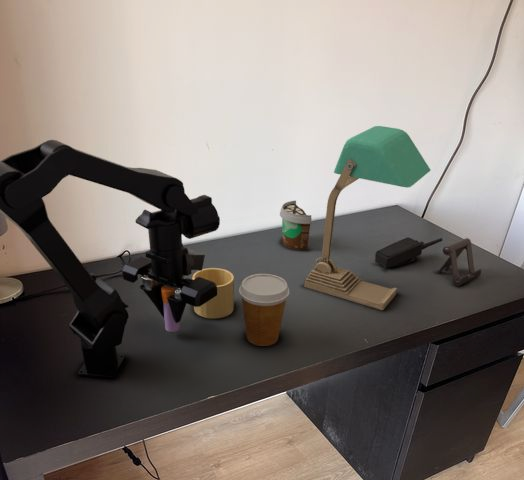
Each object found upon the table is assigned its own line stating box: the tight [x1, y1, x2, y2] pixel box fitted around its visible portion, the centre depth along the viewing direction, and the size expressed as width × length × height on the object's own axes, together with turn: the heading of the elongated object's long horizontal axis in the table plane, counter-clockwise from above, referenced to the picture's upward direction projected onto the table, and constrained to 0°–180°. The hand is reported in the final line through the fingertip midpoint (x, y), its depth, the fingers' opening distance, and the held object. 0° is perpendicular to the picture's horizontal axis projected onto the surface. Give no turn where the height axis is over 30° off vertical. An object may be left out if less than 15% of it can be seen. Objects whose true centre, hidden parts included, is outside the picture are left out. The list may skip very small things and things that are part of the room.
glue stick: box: [161, 285, 181, 333], centre depth 101 cm, size 3×3×9 cm
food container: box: [279, 200, 312, 251], centre depth 140 cm, size 12×6×10 cm, turn 17°
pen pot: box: [191, 267, 235, 319], centre depth 112 cm, size 9×9×8 cm
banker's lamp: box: [304, 125, 431, 311], centre depth 112 cm, size 16×21×35 cm
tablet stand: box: [437, 237, 482, 287], centre depth 128 cm, size 9×8×8 cm
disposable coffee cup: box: [238, 273, 290, 347], centre depth 102 cm, size 10×10×12 cm
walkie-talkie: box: [374, 237, 443, 269], centre depth 136 cm, size 6×6×20 cm
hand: (171, 319), depth 103 cm, fingers closed on glue stick, 3 cm apart
